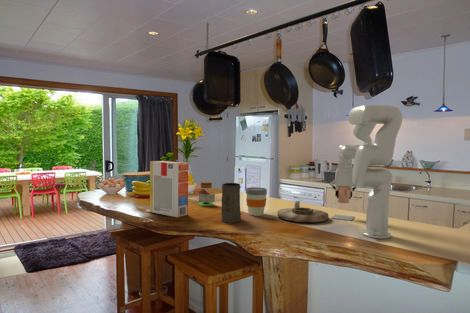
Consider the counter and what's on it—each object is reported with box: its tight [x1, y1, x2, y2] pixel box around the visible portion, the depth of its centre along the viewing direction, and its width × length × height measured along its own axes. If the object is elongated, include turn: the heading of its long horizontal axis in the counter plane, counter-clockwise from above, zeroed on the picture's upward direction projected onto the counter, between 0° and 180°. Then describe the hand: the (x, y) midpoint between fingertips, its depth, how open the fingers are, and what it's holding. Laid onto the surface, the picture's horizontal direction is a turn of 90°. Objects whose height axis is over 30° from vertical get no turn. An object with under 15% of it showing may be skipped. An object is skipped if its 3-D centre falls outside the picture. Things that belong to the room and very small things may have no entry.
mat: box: [330, 214, 355, 222], centre depth 192 cm, size 11×11×1 cm
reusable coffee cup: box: [245, 186, 268, 217], centre depth 198 cm, size 13×13×15 cm
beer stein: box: [220, 182, 242, 224], centre depth 181 cm, size 15×11×20 cm
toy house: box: [197, 181, 216, 207], centre depth 225 cm, size 12×13×15 cm
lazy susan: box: [277, 200, 329, 223], centre depth 189 cm, size 28×28×6 cm
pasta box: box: [149, 160, 189, 218], centre depth 195 cm, size 23×8×30 cm, turn 56°
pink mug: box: [337, 186, 351, 204], centre depth 190 cm, size 9×6×9 cm
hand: (343, 197), depth 191 cm, fingers closed on pink mug, 6 cm apart
